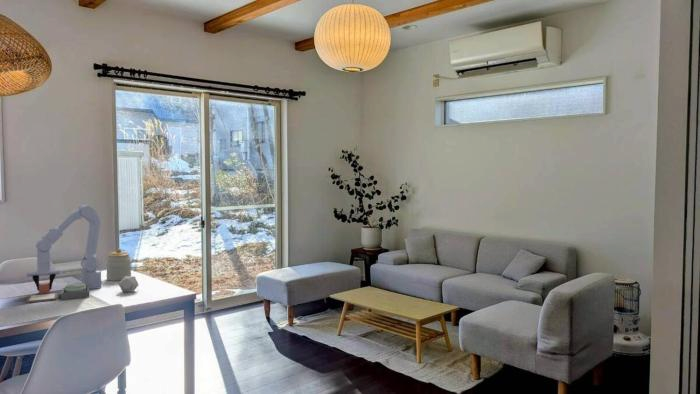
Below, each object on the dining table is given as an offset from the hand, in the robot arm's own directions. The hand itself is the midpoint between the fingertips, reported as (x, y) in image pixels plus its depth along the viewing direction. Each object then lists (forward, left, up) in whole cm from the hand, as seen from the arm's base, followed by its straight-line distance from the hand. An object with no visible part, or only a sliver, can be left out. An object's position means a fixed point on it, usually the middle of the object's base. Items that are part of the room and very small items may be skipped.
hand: (44, 289), depth 244 cm
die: (-38, +14, -2) cm, 40 cm away
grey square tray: (-14, +11, -2) cm, 18 cm away
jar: (-35, -21, -2) cm, 41 cm away
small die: (0, 0, -1) cm, 1 cm away
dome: (-14, +11, 0) cm, 18 cm away
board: (0, +11, -2) cm, 11 cm away
